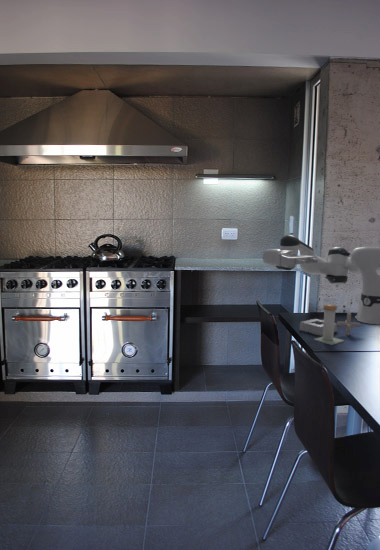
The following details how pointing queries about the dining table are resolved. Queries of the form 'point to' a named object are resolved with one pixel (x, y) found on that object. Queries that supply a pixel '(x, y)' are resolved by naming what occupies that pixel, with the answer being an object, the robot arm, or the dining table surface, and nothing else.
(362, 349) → the dining table surface
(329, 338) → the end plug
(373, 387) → the dining table surface
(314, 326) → the housing block
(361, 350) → the dining table surface
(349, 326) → the pipe connector
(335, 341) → the rubber mat
